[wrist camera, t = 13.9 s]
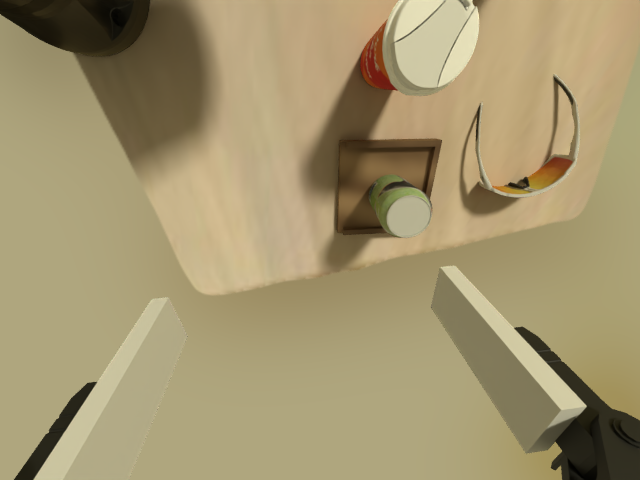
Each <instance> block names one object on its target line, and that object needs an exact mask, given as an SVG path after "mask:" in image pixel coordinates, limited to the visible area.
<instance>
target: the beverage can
mask: <svg viewBox="0 0 640 480" xmlns="http://www.w3.org/2000/svg"><path fill="white" fill-rule="evenodd" d="M369 202H370V204H371V206H372V208H373V210H374V212H375V214H376V216H377V218H378V219H379V221H380V223H381V225H382V227H383V228H384V230H385V231H386V232H388V233H389V234H391V235H392V236H395V237H400V238H409V237H414V236H417V235H419V234H420V233H422V232H423V231H424V230H425V229H426V228H427V227H428V225H429V223H430V220H431V217H432V204H431V201H430V199H429V198H428V196H427V195H426V194H425V193H424V192H422V191H421V190H419V189H418V188H417V187H415V186H414V185H412V184H411V183H409V182H408V181H406V180H405V179H403V178H402V177H400V176H397V175H385V176H382V177H380V178H379V179H377V180H376V181H375V182H374V183H373V185H372V186H371V188H370V191H369Z"/></svg>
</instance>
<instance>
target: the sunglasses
mask: <svg viewBox="0 0 640 480" xmlns="http://www.w3.org/2000/svg"><path fill="white" fill-rule="evenodd" d="M554 79H555V81H556V82H557V83H558V84H559V85H560V86H561V88H562V89H563V90H564V92H565V93H566V95H567V96H568V98H569V101H570V103H571V108H572V115H573V119H574V126H575V129H574V136H573V140H572V142H571V146H570V153H569V155H560V154H554V155H552V156H551V157H550V158H549V159H548V160H547V161H546V163H545V164H544V165H542V167H541V168H540V169H539V170H538V171H537V172H535V173H534V174H532V175H531V176H529V177H525V178H524V179H523V182H524V185H525V186H523V187H522V186H519V185H517V184H515V183H511V182H510V183H509V184H508V185H504V186H501V187H496V186H492V185H491V183H490V181H489V179H488V178H487V175H486V173H485V171H484V168H483V165H482V161H481V156H480V123H481V113H482V105H483V102H481V104H480V106H479V109H478V115H477V124H476V154H477V159H478V164H479V171H480V178H481V180H482V182H481V181H479V185H480V186H481V187H483V188H485V189H487V190H490V191H492V192H495V193H497V194H500V195H503V196H507V197H515V198H523V197H530V196H535V195H538V194H541V193H544V192H546V191H548V190H550V189H552V188H553V187H555V186H556V185H558V184H559V183H560V182H562V181H563V180H564V179H565V178H566V177H567V176H568V174H569V173H570V172H571V170H572V169H573V168H574V166H575V165H576V163H577V156H578V150H579V142H580V124H579V114H578V106H577V102H576V99H575V97H574V95H573V94H572V92H571V91H570V89H569V88H568V87H567V85H566V84H565V83H564V82H563V81H562V80H561V79H560V78H559V77H558V76H557V75H556V74H554Z"/></svg>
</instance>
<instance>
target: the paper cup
mask: <svg viewBox="0 0 640 480" xmlns="http://www.w3.org/2000/svg"><path fill="white" fill-rule="evenodd" d="M472 1H473V0H398V2H397V3H396V5H395V6H394V8H393V10H392V12H391V13H390V16H389V18H388V19H387V20H386V21H385V23H384V24H383V25H382V26H381V27H380V28H379V30H378V31H377V32H376V33H375V34H374V35H373V37H372V38H371V39H370V40H369V42H368V43H367V44H366V46H365V48H364V50H363V52H362V55H361V61H360V67H361V73H362V75H363V78H364V79H365V81H366V82H367V83H368V84H369V85H371V86H373V87H375V88H380V89H388V90H398V91H400V92H401V93H403V94H405V95H413V96H427V95H431V94H434V93H436V92H438V91H440V90H442V89H444V88H445V87H447V86H448V85H449V84H450V83H451V82H452V81H453V80H454V79H455V78H456V77H457V76H458V75H459V74H460V72H461V71H462V70H463V69H464V67H465V66H466V65H467V63H468V61H469V60H470V58H471V56H472V54H473V51H474V49H475V46H476V42H477V39H478V33H479V14H478V9H477V6H476V7H475V6H474V5H473V3H472Z"/></svg>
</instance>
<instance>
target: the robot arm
mask: <svg viewBox="0 0 640 480" xmlns="http://www.w3.org/2000/svg"><path fill="white" fill-rule="evenodd" d="M148 10H149V0H0V14H1V15H2V16H4V17H5V18H7V19H9V20H10V21H12V22H13V23H15V24H16V25H18V26H20V27H21V28H23V29H24V30H25V31H27V32H28V33H30V34H31V35H33V36H35V37H36V38H38V39H40V40H42V41H44V42H46V43H48V44H50V45H52V46H55V47H57V48H60V49H63V50H66V51H70V52H74V53H79V54H83V55H88V56H108V55H113V54H116V53H119V52H121V51H123V50H124V49H126V48H128V47H129V46H130V45H131V44H132V43H133V42H134V41H135V40H136V39H137V38H138V36H139V35H140V33H141V31H142V29H143V27H144V25H145V22H146V19H147V15H148ZM431 308H432V310H433V311H434V313H435V314H436V316H437V317H438V319H439V320H440V322H441V323H442V325H443V327H444V328H445V330H446V331H447V333H448V334H449V336H450V337H451V339H452V340H453V342H454V344H455V345H456V347H457V348H458V350H459V351H460V353H461V354H462V356H463V357H464V359H465V360H466V362H467V364H468V365H469V367H470V368H471V370H472V371H473V373H474V374H475V376H476V377H477V379H478V380H479V382H480V384H481V385H482V387H483V388H484V390H485V391H486V393H487V394H488V396H489V397H490V399H491V401H492V402H493V404H494V405H495V407H496V408H497V410H498V411H499V413H500V414H501V416H502V417H503V419H504V421H505V422H506V424H507V425H508V427H509V428H510V430H511V431H512V433H513V434H514V436H515V437H516V439H517V441H518V442H519V444H520V445H521V447H522V448H523V450H524V451H525V453H532V452H538V451H545V450H548V449H549V448H550V447H551V446H552V445H553V444H554V442H556V443H557V444H558V446H559V447H560V448H561V449H562V452H561V453H560V454H559V455H558V456H557V457H556V458H555V459H554V461H553V462H552V465H551V468H552V469H553V470H556V469H557V468H558V467H559V466H560V465H561V470H562V480H640V421H639V420H638V419H636V418H634V417H632V416H630V415H628V414H627V413H624V412H621V411H617V410H614V409H611V408H610V407H609V406H608V405H607V404H606V403H605V402H603V401H602V400H601V399H600V398H599V397H598V396H597V395H596V394H595V393H594V392H593V391H592V390H591V389H590V388H589V387H588V386H587V385H586V384H585V383H584V382H583V381H582V380H581V379H580V378H579V377H578V376H577V375H576V374H575V373H574V372H573V371H572V370H571V369H570V368H569V367H568V366H567V365H566V364H565V363H564V362H562V361H561V359H560V358H559V357H558V356H557V355H556V354H555V353H554V352H552V351H551V350H550V348H549V347H548V346H547V345H546V344H545V343H544V342H543V341H542V340H541V339H540V338H539V337H538V336H536V335H535V334H533V333H532V332H530V331H528V330H527V329H525V328H524V327H516V328H513V327H512V326H511V325H510V324H509V323H508V322H507V320H506V319H505V318H503V316H502V315H500V313H499V312H498V311H497V310H496V309H495V308H494V307H493V306H492V305H491V303H490V302H489V301H488V300H487V299H486V298H485V297H484V296H483V295H482V294H481V293H480V292H479V291H478V290H477V289H476V287H474V285H473V284H472V283H471V282H470V281H469V280H468V279H467V278H466V277H465V276H464V275H463V274H462V273H461V272H460V271H459V269H458V268H457V267H456V266H446V267H440V269H439V274H438V278H437V283H436V287H435V292H434V296H433V301H432V305H431ZM186 339H187V334H186V332H185V330H184V328H183V326H182V324H181V322H180V320H179V317H178V315H177V314H176V311H175V309H174V307H173V305H172V303H171V301H170V299H169V297H166V298H157V299H152V300H151V301H150V303H149V304H148V306H147V307H146V309H145V310H144V312H143V314H142V315H141V316H140V318H139V320H138V321H137V322H136V324H135V326H134V327H133V329H132V330H131V332H130V333H129V335H128V336H127V338H126V339H125V341H124V342H123V344H122V345H121V347H120V349H119V350H118V352H117V353H116V355H115V356H114V358H113V359H112V361H111V362H110V364H109V365H108V367H107V368H106V370H105V372H104V373H103V374H102V376H101V378H100V379H99V380H98V382H92V383H87V384H86V385H85V386H84V387H83V388H82V389H81V390H80V391H79V392H78V393H76V394H75V395H74V396H73V397H72V398H71V400H70V401H69V402H68V404H67V406H66V407H65V408H64V410H63V411H62V412H61V414H60V416H59V418H58V419H56V421H55V422H54V424H53V425H52V426H51V428H50V429H49V433H48V434H46V435H45V436H44V438H43V439H42V441H41V442H40V444H39V445H38V447H37V448H36V450H35V451H34V452H33V453H32V455H31V456H30V458H29V459H28V461H27V462H26V464H25V465H24V466H23V468H22V469H21V471H20V472H19V473H18V475H17V476H16V478H15V479H14V480H129V477H130V475H131V473H132V470H133V468H134V466H135V463H136V461H137V458H138V456H139V453H140V451H141V449H142V446H143V444H144V441H145V439H146V437H147V434H148V432H149V429H150V427H151V424H152V422H153V419H154V417H155V415H156V412H157V410H158V407H159V405H160V402H161V400H162V398H163V395H164V393H165V390H166V388H167V385H168V383H169V381H170V378H171V375H172V373H173V371H174V368H175V366H176V363H177V361H178V359H179V356H180V354H181V351H182V349H183V346H184V344H185V342H186Z"/></svg>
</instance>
